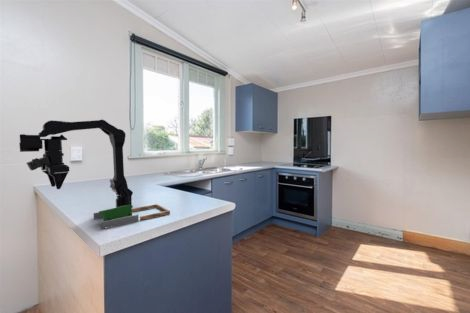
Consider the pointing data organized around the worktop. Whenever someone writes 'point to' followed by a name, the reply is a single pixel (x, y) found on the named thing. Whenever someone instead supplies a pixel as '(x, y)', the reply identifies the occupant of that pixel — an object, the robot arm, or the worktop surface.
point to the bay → (165, 212)
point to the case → (115, 220)
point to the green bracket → (116, 212)
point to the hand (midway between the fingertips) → (55, 187)
